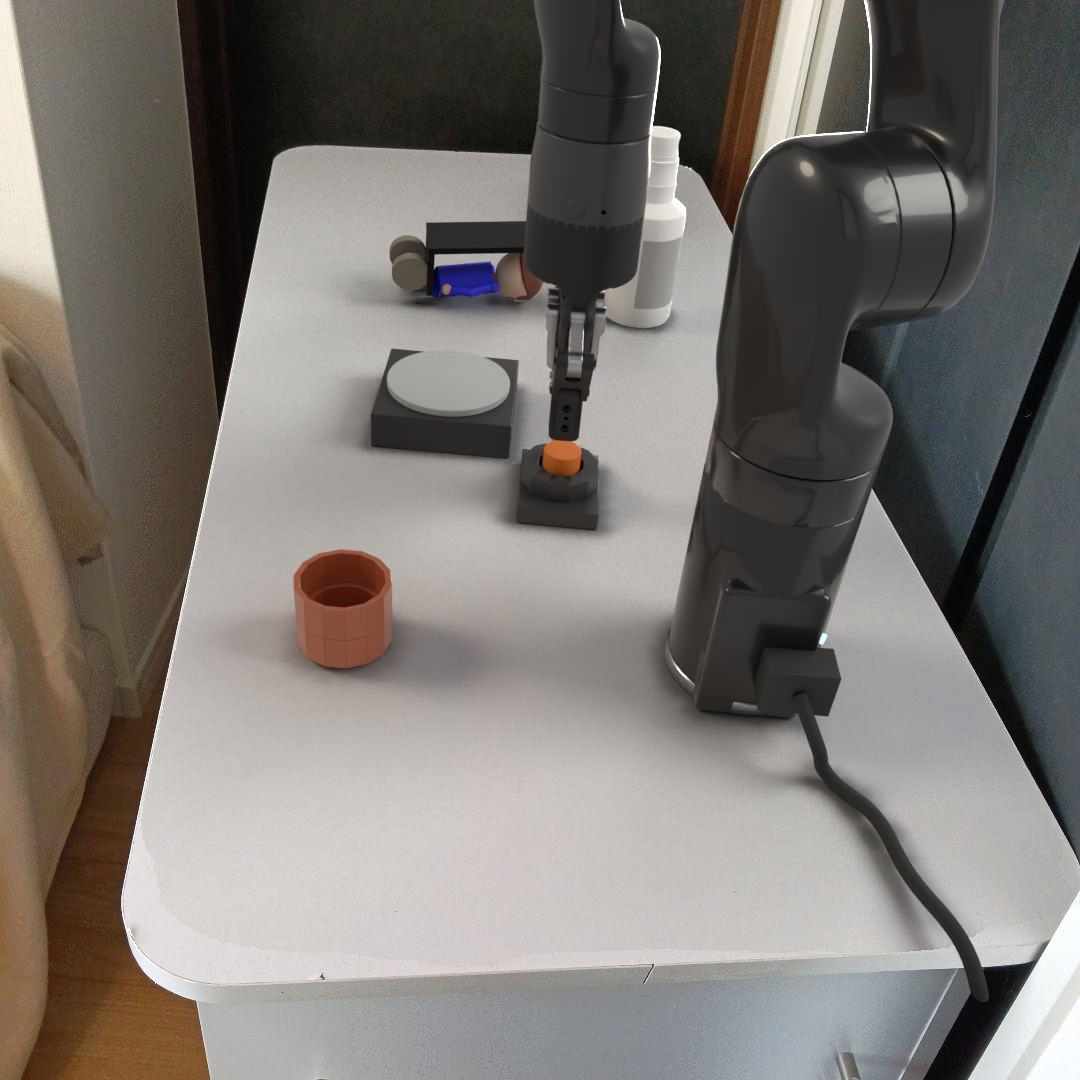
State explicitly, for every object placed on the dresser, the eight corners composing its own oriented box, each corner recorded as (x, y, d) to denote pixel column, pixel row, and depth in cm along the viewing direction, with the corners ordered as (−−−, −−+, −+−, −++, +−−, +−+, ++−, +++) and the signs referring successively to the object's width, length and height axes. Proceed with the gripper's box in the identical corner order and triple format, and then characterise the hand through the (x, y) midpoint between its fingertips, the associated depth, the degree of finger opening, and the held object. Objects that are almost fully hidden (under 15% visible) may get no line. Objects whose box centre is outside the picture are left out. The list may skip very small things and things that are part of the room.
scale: (509, 458, 87) (512, 419, 85) (370, 446, 87) (370, 407, 84) (516, 390, 96) (519, 353, 93) (391, 378, 95) (391, 341, 93)
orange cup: (385, 676, 66) (384, 615, 63) (287, 668, 66) (282, 606, 63) (398, 614, 71) (398, 553, 68) (307, 606, 71) (303, 545, 68)
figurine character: (396, 325, 106) (549, 311, 108) (387, 252, 102) (546, 238, 103) (394, 295, 112) (539, 282, 113) (385, 224, 107) (537, 211, 108)
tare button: (579, 478, 81) (581, 461, 80) (541, 475, 81) (543, 458, 80) (579, 458, 83) (581, 441, 82) (542, 455, 83) (544, 437, 82)
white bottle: (665, 334, 107) (696, 148, 96) (596, 322, 107) (619, 137, 96) (672, 305, 112) (702, 126, 101) (607, 294, 113) (630, 116, 102)
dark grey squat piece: (597, 530, 80) (601, 496, 78) (515, 522, 80) (518, 489, 78) (596, 470, 87) (601, 438, 85) (521, 463, 86) (524, 431, 85)
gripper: (652, 243, 64) (618, 489, 74) (639, 171, 75) (611, 395, 85) (524, 233, 64) (507, 481, 74) (530, 162, 74) (515, 388, 85)
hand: (563, 435), depth 79 cm, fingers closed
